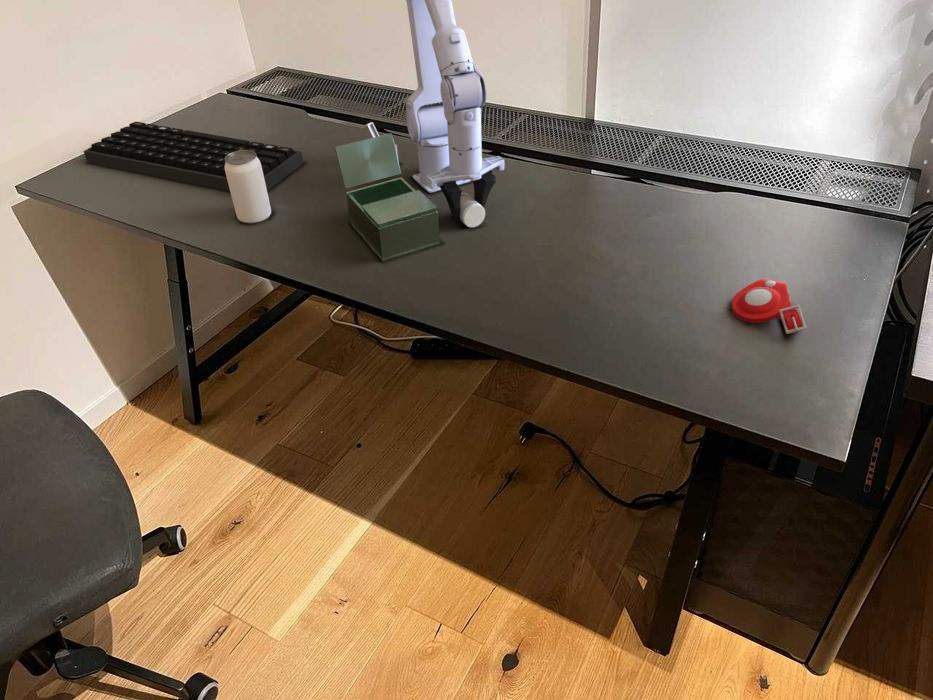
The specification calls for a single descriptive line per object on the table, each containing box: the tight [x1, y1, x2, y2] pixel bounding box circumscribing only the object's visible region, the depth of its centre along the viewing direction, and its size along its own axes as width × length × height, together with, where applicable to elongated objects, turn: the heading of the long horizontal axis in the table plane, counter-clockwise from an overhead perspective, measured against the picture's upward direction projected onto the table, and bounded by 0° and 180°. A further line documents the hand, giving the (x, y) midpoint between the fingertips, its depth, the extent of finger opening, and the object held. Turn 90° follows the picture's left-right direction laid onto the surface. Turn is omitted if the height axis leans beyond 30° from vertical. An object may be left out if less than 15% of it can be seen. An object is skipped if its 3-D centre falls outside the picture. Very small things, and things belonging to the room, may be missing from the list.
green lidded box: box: [345, 176, 441, 263], centre depth 135 cm, size 15×11×7 cm
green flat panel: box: [334, 132, 402, 190], centre depth 137 cm, size 7×11×1 cm
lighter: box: [363, 121, 399, 159], centre depth 158 cm, size 7×2×8 cm, turn 58°
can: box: [225, 150, 272, 224], centre depth 141 cm, size 6×6×12 cm
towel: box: [459, 192, 486, 228], centre depth 139 cm, size 4×6×4 cm
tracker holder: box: [731, 278, 808, 335], centre depth 114 cm, size 12×4×10 cm
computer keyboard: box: [83, 121, 304, 192], centre depth 162 cm, size 45×16×4 cm, turn 66°
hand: (467, 214), depth 139 cm, fingers closed on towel, 4 cm apart
